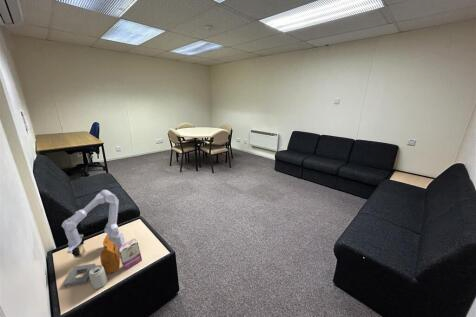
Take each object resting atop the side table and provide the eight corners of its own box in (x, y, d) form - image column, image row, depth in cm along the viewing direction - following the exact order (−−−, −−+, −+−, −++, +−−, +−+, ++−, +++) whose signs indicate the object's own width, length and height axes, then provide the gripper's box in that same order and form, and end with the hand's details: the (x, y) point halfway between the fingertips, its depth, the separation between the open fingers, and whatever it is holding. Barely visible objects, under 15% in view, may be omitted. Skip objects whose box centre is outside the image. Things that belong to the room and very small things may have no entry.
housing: (96, 266, 133) (95, 263, 132) (87, 283, 122) (86, 280, 121) (75, 269, 131) (74, 266, 130) (64, 286, 120) (63, 283, 119)
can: (97, 292, 117) (91, 277, 112) (90, 285, 121) (85, 271, 116) (110, 281, 123) (105, 267, 118) (103, 275, 126) (99, 261, 122)
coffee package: (122, 256, 140) (116, 231, 132) (120, 271, 129) (112, 245, 121) (106, 260, 137) (98, 235, 129) (102, 276, 126) (93, 249, 118)
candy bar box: (139, 256, 141) (135, 237, 135) (142, 260, 137) (138, 241, 131) (122, 266, 133) (116, 247, 127) (125, 270, 130) (119, 251, 124)
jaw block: (85, 252, 135) (82, 243, 132) (82, 257, 131) (79, 249, 128) (78, 253, 134) (75, 244, 132) (74, 258, 130) (71, 250, 128)
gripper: (72, 229, 133) (78, 245, 138) (59, 246, 120) (66, 263, 124) (84, 228, 134) (89, 244, 139) (72, 244, 121) (78, 261, 126)
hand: (79, 253), depth 132 cm, fingers closed on jaw block, 4 cm apart
